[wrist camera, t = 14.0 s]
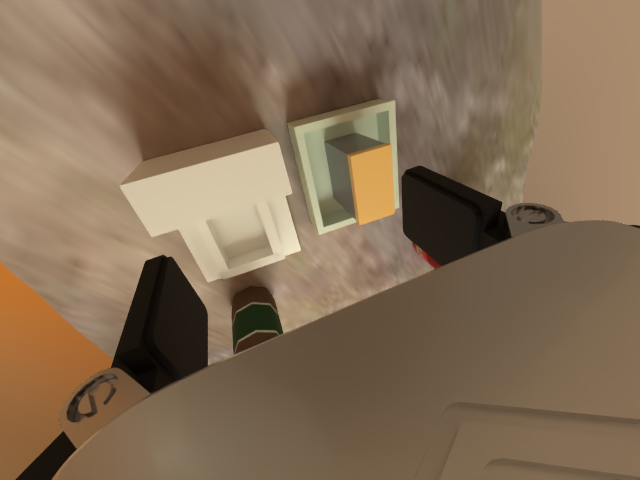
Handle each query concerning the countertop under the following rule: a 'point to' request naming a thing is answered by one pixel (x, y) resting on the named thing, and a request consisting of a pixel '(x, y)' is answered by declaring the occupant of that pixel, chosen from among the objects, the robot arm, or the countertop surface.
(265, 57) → the countertop surface
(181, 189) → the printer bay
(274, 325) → the beer bottle
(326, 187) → the tray
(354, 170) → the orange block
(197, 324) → the robot arm
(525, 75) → the countertop surface
